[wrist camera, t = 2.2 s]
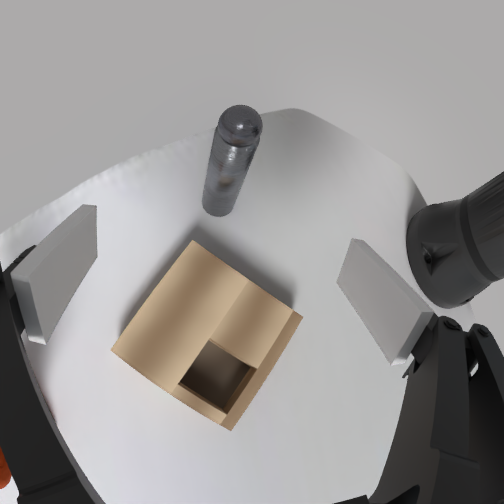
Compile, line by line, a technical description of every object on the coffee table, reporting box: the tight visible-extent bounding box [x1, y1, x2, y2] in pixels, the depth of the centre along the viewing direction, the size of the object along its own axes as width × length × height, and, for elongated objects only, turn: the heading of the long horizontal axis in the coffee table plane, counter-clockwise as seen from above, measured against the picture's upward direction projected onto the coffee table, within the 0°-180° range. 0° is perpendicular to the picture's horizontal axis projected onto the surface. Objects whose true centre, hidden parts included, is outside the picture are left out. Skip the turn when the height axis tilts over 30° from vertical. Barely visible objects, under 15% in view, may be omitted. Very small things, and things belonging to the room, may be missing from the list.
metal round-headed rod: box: [202, 105, 263, 217], centre depth 25 cm, size 3×3×14 cm
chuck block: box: [111, 240, 303, 431], centre depth 25 cm, size 12×12×3 cm
